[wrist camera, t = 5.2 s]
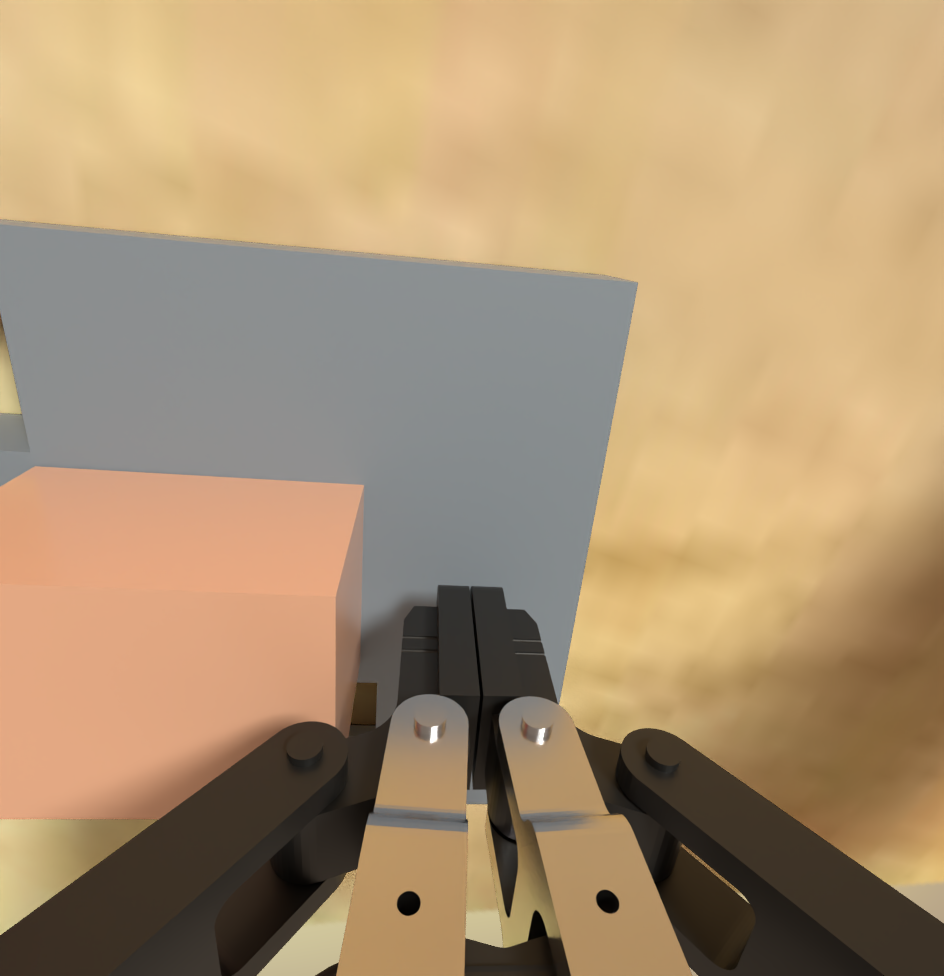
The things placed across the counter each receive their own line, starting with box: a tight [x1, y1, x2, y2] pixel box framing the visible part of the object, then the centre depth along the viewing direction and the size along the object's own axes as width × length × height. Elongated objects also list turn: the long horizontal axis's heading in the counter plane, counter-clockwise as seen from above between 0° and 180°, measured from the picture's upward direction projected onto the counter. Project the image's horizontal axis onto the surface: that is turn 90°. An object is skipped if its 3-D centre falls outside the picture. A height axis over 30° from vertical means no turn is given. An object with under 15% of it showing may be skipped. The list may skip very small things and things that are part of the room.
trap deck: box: [0, 219, 638, 804], centre depth 14 cm, size 23×15×4 cm, turn 85°
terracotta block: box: [0, 466, 364, 819], centre depth 12 cm, size 7×5×4 cm
